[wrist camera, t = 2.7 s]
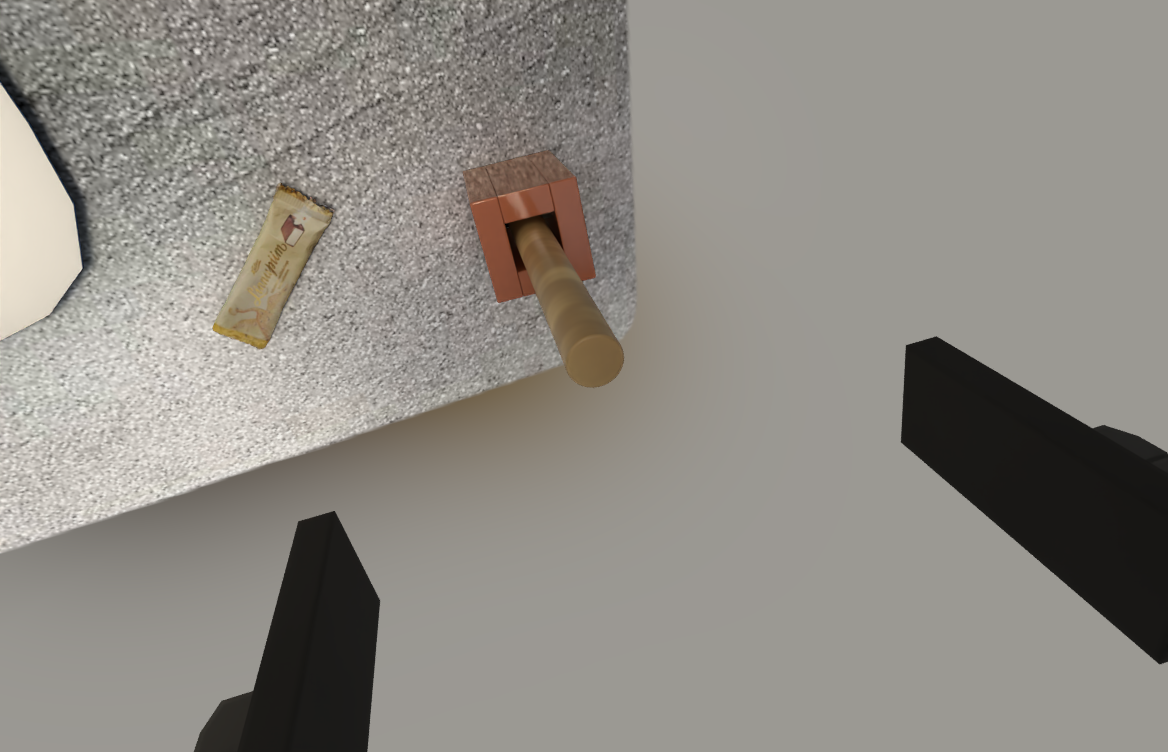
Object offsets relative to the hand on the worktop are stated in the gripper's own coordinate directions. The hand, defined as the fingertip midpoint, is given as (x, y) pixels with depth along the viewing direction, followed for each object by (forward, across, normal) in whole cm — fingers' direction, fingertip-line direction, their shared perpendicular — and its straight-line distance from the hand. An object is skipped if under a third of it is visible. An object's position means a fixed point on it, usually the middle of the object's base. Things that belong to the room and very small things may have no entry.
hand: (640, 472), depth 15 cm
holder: (+27, 0, 0) cm, 27 cm away
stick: (+27, 0, 0) cm, 27 cm away
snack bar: (+27, -14, 0) cm, 30 cm away
